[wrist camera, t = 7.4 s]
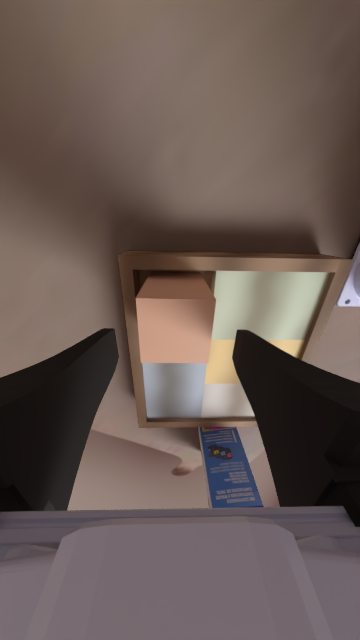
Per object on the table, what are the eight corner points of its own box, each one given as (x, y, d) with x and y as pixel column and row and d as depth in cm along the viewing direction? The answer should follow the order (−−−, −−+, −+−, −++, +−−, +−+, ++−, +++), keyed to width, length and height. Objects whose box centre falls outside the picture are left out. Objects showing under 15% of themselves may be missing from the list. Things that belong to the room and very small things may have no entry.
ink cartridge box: (233, 450, 31) (275, 608, 18) (201, 453, 31) (219, 612, 18) (234, 410, 27) (289, 582, 14) (196, 414, 27) (216, 587, 14)
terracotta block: (201, 273, 17) (216, 299, 11) (197, 318, 19) (208, 363, 13) (150, 272, 17) (135, 298, 10) (152, 318, 19) (140, 362, 12)
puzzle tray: (321, 254, 17) (353, 259, 14) (270, 402, 26) (283, 426, 23) (128, 250, 17) (117, 255, 14) (143, 403, 26) (138, 427, 22)
